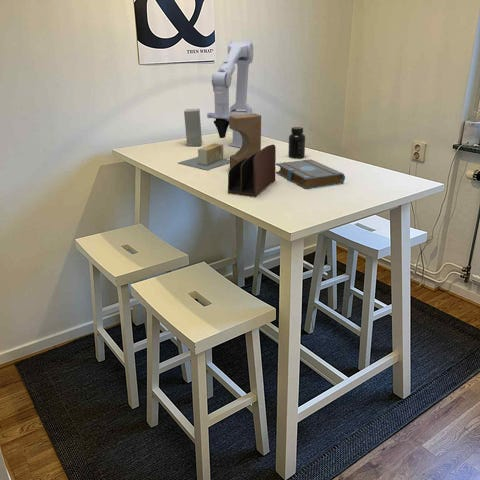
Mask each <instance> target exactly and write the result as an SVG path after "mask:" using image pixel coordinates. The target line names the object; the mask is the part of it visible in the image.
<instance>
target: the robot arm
mask: <svg viewBox="0 0 480 480" xmlns="http://www.w3.org/2000/svg"><path fill="white" fill-rule="evenodd" d="M253 60H254V46H253V42H252V41H233V40H230V41H229V43H228V44H227V57H226V59H224V60H223V61H222V62H221V64H220V66H219V68H218V69H217V71H215V72H213V73H212V76H211V85H212V91H213V92H214V95H213V96H214V112H208V113H206V117H207V119H213V124H214V126H215V127H216V129H217V133H218V136H219V137H218V138H219V139H225V138H226V135H227V131H228V128H229V116H231V115H241V114H252V113H253V108H252V107H251V106H250V105H249V104H247V98H248V97H247V95H248V80H249V69H250V68H249V66H250V64H252V63H253ZM235 64H236V65H237V67H236V65H235ZM236 68H237V69H236ZM235 69H236V71H237V72H236V85H235V86H236V89H235V103H234V104H232V105H231V106H230V90H229V89H230V87H231V83H232V79H233V77H232V76H233V74H234V72H235ZM228 146H230V147H235V148H239V149H240V148H241V146H242V136H241V135H240V133H239V132H238V131H235V130H232V142H231V143H228Z"/></svg>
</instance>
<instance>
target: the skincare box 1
mask: <svg viewBox="0 0 480 480" xmlns="http://www.w3.org/2000/svg"><path fill="white" fill-rule="evenodd" d="M200 112H201V111H200V108H187V109H184V111H183V115H184V126H185V127H184V128H185V137H186V146H187V147H201V146H202V144H203V138H202V127H201V126H202V125H201V124H202V123H201V113H200Z"/></svg>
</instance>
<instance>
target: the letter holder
mask: <svg viewBox="0 0 480 480" xmlns="http://www.w3.org/2000/svg"><path fill="white" fill-rule="evenodd" d="M276 149H277V148H276V145H275V144H270V145H267V146H265V147H263V148H261V150H260V151H259V152H257V153H255V154H253V155H251V156H250V157H247V158H245V159H243V160H241V161H239V162H238V163H236V164H235V165H234V166H233V167H232V168H230V169H229V170H228V174H227V194H229V195H236V194H237V196H243V195H244V196H245V197H251V198H256V197H257V196H258V195H259V194H260V193H262V192H264V190H265V189H267V188H268V187H269V186H271V185H272V184H273V183H274V182H275V181H276V166H277V165H276V164H277V163H276Z"/></svg>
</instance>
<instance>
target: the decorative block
mask: <svg viewBox="0 0 480 480" xmlns="http://www.w3.org/2000/svg"><path fill="white" fill-rule="evenodd" d="M228 128H229V129H230V130H232V131H233V130H235V131H238V132H239V133H240V135H241V136H242V146H241V148H240V147H239V149H238V150H237V152H236V153H233V154H231V155H229V160H230V163H229V168H230V169H231V168H232V167H233V166H234V165H235V164H236V163H238V162H239V161H241V160H243V159H245V158H247V157H250V156H251V155H253V154H255V153H257V152H259V151H260V150H262V148H261V147H262V115H260V114H257V113H253V112H252V114H241V115H231V116H229V126H228Z"/></svg>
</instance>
